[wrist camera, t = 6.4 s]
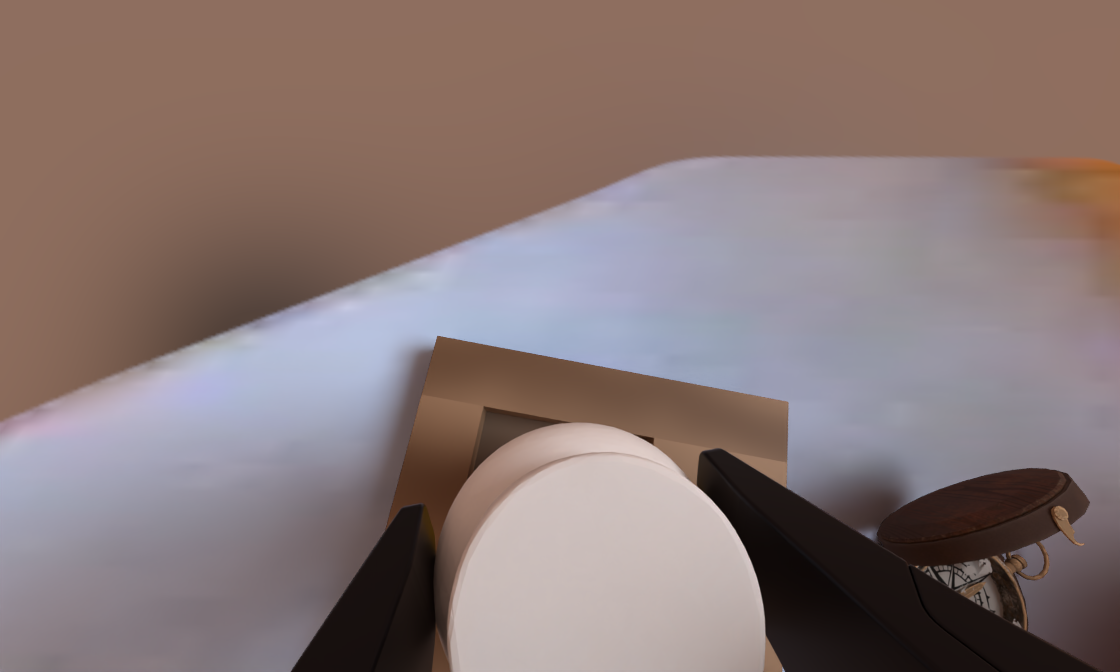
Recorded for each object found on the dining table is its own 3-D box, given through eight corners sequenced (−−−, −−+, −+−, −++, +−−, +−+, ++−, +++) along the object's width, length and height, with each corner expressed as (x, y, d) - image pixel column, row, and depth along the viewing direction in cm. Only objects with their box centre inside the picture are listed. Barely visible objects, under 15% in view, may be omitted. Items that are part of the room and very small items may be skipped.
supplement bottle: (456, 611, 14) (319, 884, 5) (487, 433, 16) (433, 366, 6) (629, 633, 14) (838, 937, 5) (642, 454, 16) (815, 420, 6)
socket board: (751, 746, 17) (779, 780, 15) (359, 678, 17) (338, 704, 15) (764, 408, 21) (788, 402, 19) (445, 348, 21) (437, 336, 19)
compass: (927, 713, 18) (1178, 864, 11) (819, 519, 20) (977, 544, 13) (1069, 615, 19) (1371, 695, 13) (955, 443, 21) (1164, 429, 14)
